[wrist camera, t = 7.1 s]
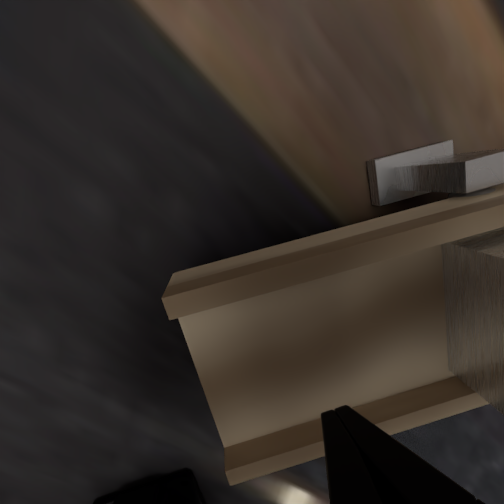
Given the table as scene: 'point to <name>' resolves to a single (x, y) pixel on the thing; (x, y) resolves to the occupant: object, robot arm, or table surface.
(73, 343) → the table surface
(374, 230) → the oak beam
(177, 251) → the table surface
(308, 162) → the table surface
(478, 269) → the metal block
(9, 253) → the table surface
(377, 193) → the pivot stand
